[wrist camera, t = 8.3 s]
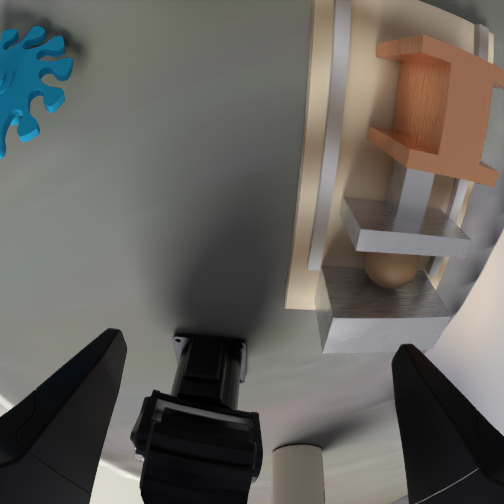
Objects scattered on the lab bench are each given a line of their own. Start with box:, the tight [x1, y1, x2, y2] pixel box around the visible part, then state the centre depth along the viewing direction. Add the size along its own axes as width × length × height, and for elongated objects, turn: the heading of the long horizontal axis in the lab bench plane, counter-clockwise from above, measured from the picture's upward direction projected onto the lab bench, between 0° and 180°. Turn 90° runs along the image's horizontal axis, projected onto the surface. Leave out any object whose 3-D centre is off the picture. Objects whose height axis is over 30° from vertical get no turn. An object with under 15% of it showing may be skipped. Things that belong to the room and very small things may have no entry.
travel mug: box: [271, 444, 325, 504], centre depth 33 cm, size 8×8×18 cm
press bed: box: [285, 0, 494, 310], centre depth 17 cm, size 22×12×2 cm, turn 178°
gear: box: [0, 26, 73, 159], centre depth 13 cm, size 11×6×10 cm
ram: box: [340, 34, 504, 258], centre depth 13 cm, size 10×7×5 cm
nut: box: [364, 252, 419, 289], centre depth 18 cm, size 4×4×4 cm
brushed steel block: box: [314, 265, 451, 353], centre depth 19 cm, size 3×8×5 cm, turn 88°
